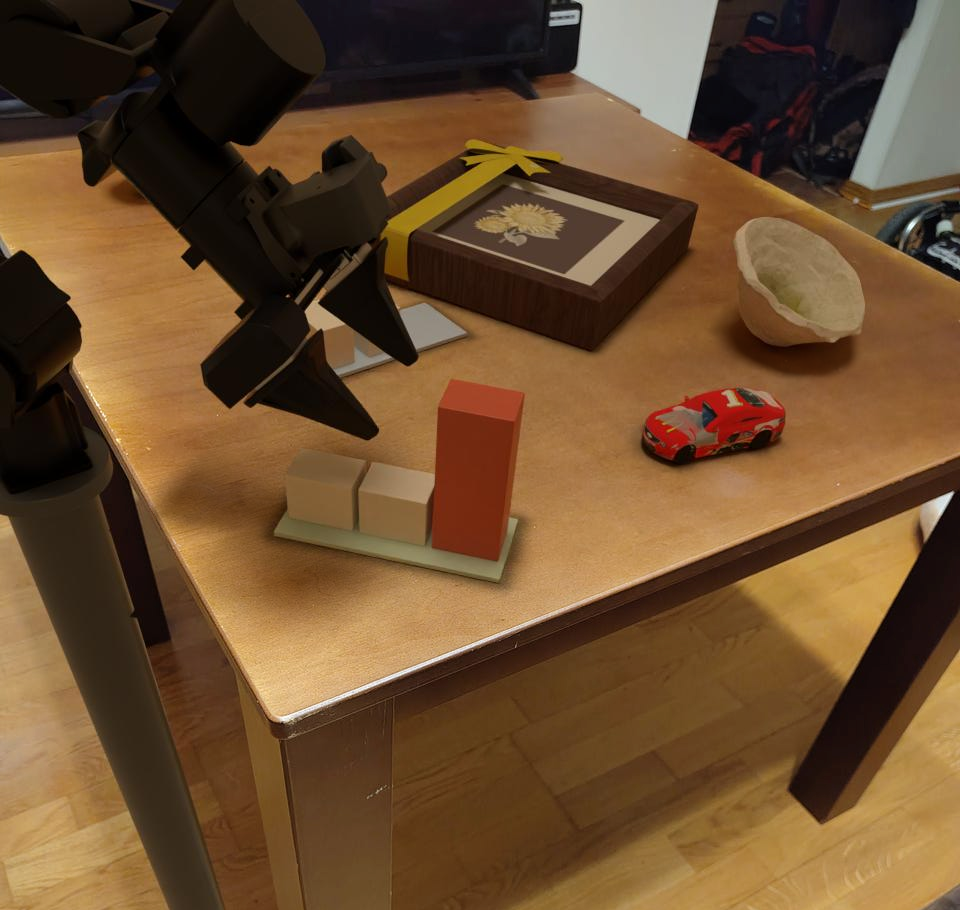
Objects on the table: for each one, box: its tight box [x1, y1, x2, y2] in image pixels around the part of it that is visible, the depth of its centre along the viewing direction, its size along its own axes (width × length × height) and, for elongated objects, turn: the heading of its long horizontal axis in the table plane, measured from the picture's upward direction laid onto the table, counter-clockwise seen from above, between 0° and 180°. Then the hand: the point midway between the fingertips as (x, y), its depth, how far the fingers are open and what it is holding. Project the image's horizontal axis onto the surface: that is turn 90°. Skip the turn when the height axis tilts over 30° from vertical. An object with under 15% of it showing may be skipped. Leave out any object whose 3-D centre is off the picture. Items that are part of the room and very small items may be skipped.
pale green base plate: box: [273, 447, 519, 584], centre depth 65 cm, size 17×7×4 cm, turn 77°
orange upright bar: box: [432, 378, 526, 561], centre depth 62 cm, size 5×4×12 cm
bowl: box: [733, 216, 866, 348], centre depth 87 cm, size 15×14×10 cm
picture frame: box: [368, 138, 699, 351], centre depth 97 cm, size 28×7×30 cm
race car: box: [641, 387, 787, 465], centre depth 76 cm, size 13×5×4 cm, turn 111°
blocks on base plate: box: [305, 298, 468, 379], centre depth 83 cm, size 16×7×4 cm, turn 128°
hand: (395, 397), depth 59 cm, fingers open, 9 cm apart
